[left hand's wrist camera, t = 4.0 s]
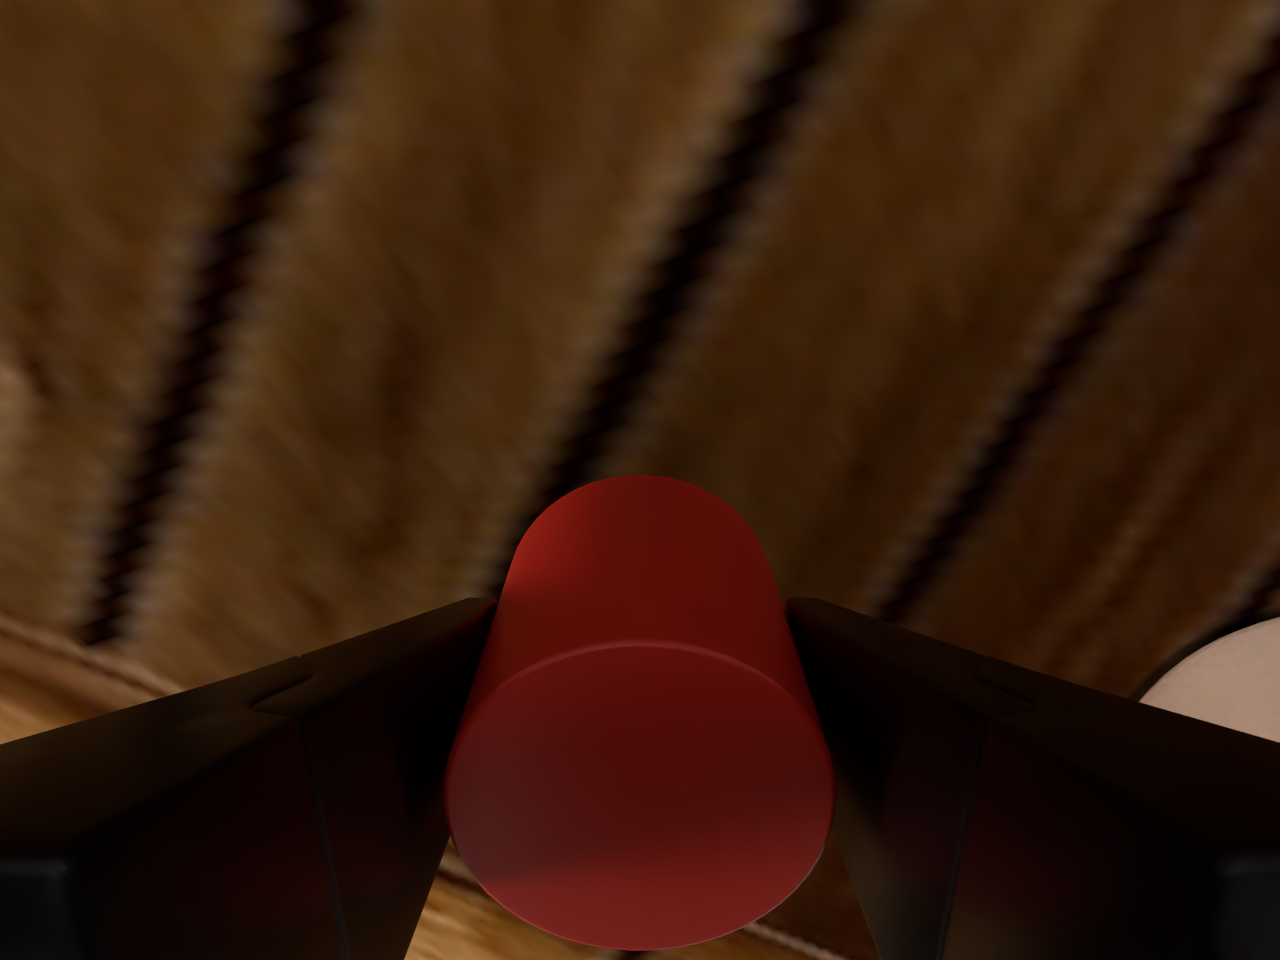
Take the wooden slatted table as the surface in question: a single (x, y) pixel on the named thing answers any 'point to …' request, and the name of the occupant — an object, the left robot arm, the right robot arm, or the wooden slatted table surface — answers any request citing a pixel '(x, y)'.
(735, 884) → the red cylinder
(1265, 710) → the anatomical model
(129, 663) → the wooden slatted table surface
